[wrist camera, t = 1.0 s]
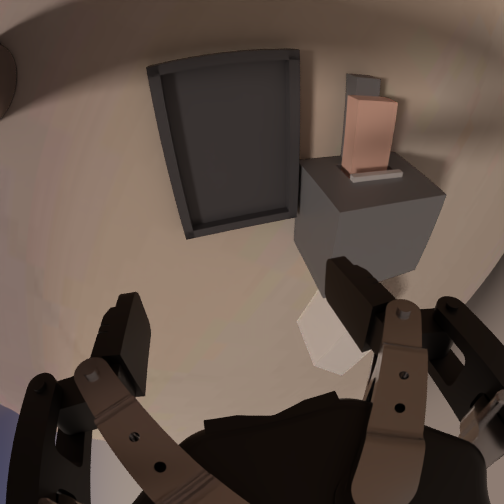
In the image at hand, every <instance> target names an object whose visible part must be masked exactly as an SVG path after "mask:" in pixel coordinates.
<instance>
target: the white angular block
mask: <svg viewBox="0 0 504 504" xmlns="http://www.w3.org/2000/svg"><path fill="white" fill-rule="evenodd" d="M297 324H298V326H299V329H300V331H301V334H302V336H303V339H304V341H305V344H306V346H307V349H308V352H309V354H310V357H311V359H312V362H313V365H314V366H316V367H318V368H321V369H324V370H327V371H330V372H333V373H335V374H338V375H341V376H342V375H343V374H344V373H346V372H347V371H348V370H349V369H350V368H351V367H353V366H354V365H355V364H356V363H357V362H358V361H359V360H361V359H362V358H363V357H364V356H365V355H366V354H367V353H368V352H369V351H370V350H368V351H365V352H363V353H362V352H361V351H360V349H359V348H358V346H357V345H356V343H355V342H354V340H353V339H352V337H351V336H350V334H349V333H348V331H347V330H346V328H345V327H344V325H343V324H342V323H341V321H340V320H339V318H338V317H337V315H336V314H335V312H334V311H333V309H332V308H331V306H330V305H329V304H328V302H327V300H326V298H322V296H321V293H320V291H319V289H318V290H317V292H316V293H315V295H314V296H313V298H312V299H311V301H310V302H309V304H308V305H307V307H306V308H305V310H304V311H303V313H302V314H301V315H300V317H299V318H298V320H297ZM371 350H372V349H371Z"/></svg>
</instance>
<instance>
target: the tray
mask: <svg viewBox="0 0 504 504" xmlns="http://www.w3.org/2000/svg"><path fill="white" fill-rule="evenodd" d="M146 69H147V75H148V80H149V86H150V91H151V96H152V101H153V106H154V111H155V116H156V121H157V126H158V130H159V135H160V139H161V144H162V148H163V152H164V157H165V161H166V165H167V169H168V173H169V177H170V181H171V185H172V189H173V193H174V197H175V201H176V204H177V208H178V212H179V215H180V219H181V223H182V226H183V230H184V233H185V237H186V240H187V239H192V238H196V237H201V236H206V235H210V234H215V233H220V232H225V231H229V230H234V229H239V228H244V227H249V226H254V225H259V224H264V223H269V222H274V221H280V220H285V219H290V218H295V217H297V206H298V182H299V149H300V52H299V50H298V49H258V50H243V51H232V52H222V53H214V54H207V55H200V56H194V57H188V58H183V59H177V60H172V61H168V62H163V63H159V64H155V65H150V66H148V67H146Z"/></svg>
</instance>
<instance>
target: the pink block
mask: <svg viewBox="0 0 504 504" xmlns="http://www.w3.org/2000/svg"><path fill="white" fill-rule="evenodd" d="M397 107H398V102H396V101H393V100H391V99H389V98H387V97H377V96H361V95H348V97H347V112H346V125H345V136H344V146H343V156H342V164H341V171H342V172H343V173H344V174H345V175H346V176H347V177H348V178H349V179H350V174H355V173H365V172H374V171H385V170H387V167H388V162H389V156H390V151H391V146H392V140H393V134H394V128H395V121H396V114H397Z"/></svg>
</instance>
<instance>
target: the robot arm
mask: <svg viewBox="0 0 504 504" xmlns="http://www.w3.org/2000/svg"><path fill="white" fill-rule="evenodd" d="M15 86H16V66H15V61H14V59H13V57H12V54H11V53H10V52H9V51H8V49H7V48H5V47H4V46H2V45H1V44H0V119H1V117H2V116H3V115H4V114H5V112H6V111H7V109H8V107H9V106H10V103H11V101H12V98H13V95H14V91H15ZM325 296H326V300H327V302H328V304H329V305H330V306H331V308H332V309H333V311H334V312H335V314H336V315H337V317H338V318H339V320H340V321H341V323H342V324H343V325H344V327H345V328H346V330H347V331H348V333H349V334H350V336H351V337H352V339H353V340H354V342H355V343H356V345H357V346H358V348H359V349H360V351H361V352H362V353H363V352H365V351H368V350H371V349H372V351H373V352H374V354H373V358H372V362H371V367H370V372H369V377H368V381H367V386H366V390H365V394H364V397H363V400H359V399H350V398H342V399H339V398H338V396H337V394H336V392H335V391H332V392H329V393H326V394H323V395H320V396H316V397H313V398H309V399H306V400H303V401H301V402H300V403H298V404H296V405H294V406H292V407H290V408H288V409H286V410H284V411H282V412H280V413H278V414H276V415H272V416H245V415H235V416H230V417H223V418H217V419H210V420H204V428H205V429H204V430H201V431H199V432H197V433H195V434H193V435H191V436H189V437H188V438H186V439H185V440H184V441H182V442H181V443H180V444H179V445H178V444H177V443H176V442H175V441H174V440H173V439H172V438H171V437H170V436H169V435H168V434H167V433H166V432H165V431H164V430H163V429H162V428H161V427H160V426H159V425H158V423H157V422H156V421H155V420H154V419H153V418H152V417H151V416H150V415H149V413H148V412H147V411H146V410H145V409H144V408H143V407H142V405H141V404H140V403H139V402H138V401H137V399H136V397H140V396H145V391H146V378H147V366H148V356H149V347H150V338H151V329H150V323H149V320H148V318H147V315H146V312H145V310H144V307H143V304H142V301H141V299H140V296H139V294H138V293H137V292H132V293H126V294H120V295H119V297H118V300H117V303H116V307H112V308H110V309H109V310H108V311H107V313H106V314H105V315H104V316H103V319H102V322H101V327H100V328H99V331H98V333H99V334H97V337H96V341H95V344H94V347H93V350H92V354H91V357H90V358H89V359H86V360H85V361H83V362H82V363H80V364H79V366H78V367H77V368H76V370H75V373H74V376H73V377H70V378H67V379H63V380H60V381H57V380H56V379H55V378H54V377H53V375H51V374H49V373H41V374H39V375H37V376H35V377H34V378H33V379H32V380H31V381H30V383H29V385H28V387H27V390H26V394H25V397H24V400H23V404H22V407H21V411H20V415H19V419H18V423H17V427H16V432H15V436H14V441H13V447H12V452H11V459H10V465H9V473H8V481H7V493H6V504H91V500H90V499H91V498H90V464H91V442H92V430H94V429H99V431H100V433H101V434H102V436H103V437H104V439H105V440H106V442H107V443H108V445H109V446H110V448H111V449H112V451H113V452H114V453H115V455H116V456H117V458H118V459H119V460H120V462H121V463H122V464H123V466H124V467H125V468H126V470H127V471H128V472H129V474H130V475H131V476H132V477H133V479H134V480H135V481H136V482H137V484H138V485H139V486H140V487H141V488H142V489H143V491H142V492H141V493H140V495H139V496H138V497H137V499H136V500H135V501H134V502H133V503H132V504H490V501H489V496H488V490H487V470H486V469H487V468H488V467H489V466H490V465H492V464H493V463H494V462H495V461H497V460H498V459H500V457H502V456H503V455H504V345H503V344H502V343H501V342H500V341H499V340H498V339H497V337H496V336H495V335H494V334H493V333H492V332H491V331H490V330H489V329H488V328H487V327H486V326H485V325H484V324H483V323H482V321H480V319H479V318H478V317H477V316H476V315H475V314H474V313H473V312H472V311H471V310H470V309H469V308H468V307H467V306H466V305H465V304H464V303H463V302H461V301H460V300H459V299H457V298H454V297H450V296H444V297H441V298H440V299H438V301H437V304H436V306H435V308H432V309H419V307H418V306H417V305H416V304H415V303H413V302H411V301H408V300H405V299H396V298H395V297H394V296H393V295H392V294H391V293H390V292H389V291H388V290H387V289H386V288H385V287H384V286H383V285H382V284H381V283H379V282H378V280H377V279H376V278H375V277H373V275H372V274H371V273H370V272H369V271H367V270H366V269H364V268H362V267H360V266H358V265H353V264H352V263H351V262H350V261H349V260H348V259H347V258H346V257H345V256H341V257H336V258H330V259H328V260H327V262H326V274H325ZM453 342H454V343H455V344H456V346H457V347H458V348H459V349H460V350H461V352H462V353H463V354H464V356H465V366H464V365H463V364H462V363H461V362H460V360H459V359H458V358H457V356H456V355H455V354H454V353H453V351H452V350H451V349H450V348H451V346H452V344H453ZM428 373H429V375H430V376H431V377H432V379H433V380H434V382H435V383H436V385H437V386H438V388H439V390H440V391H441V392H442V394H443V396H444V397H445V399H446V400H447V402H448V403H449V405H450V406H451V408H452V410H453V411H454V413H455V414H456V416H457V418H458V419H459V421H460V434H459V437H456V436H453V435H450V434H447V433H444V432H441V431H439V430H436V429H433V428H431V427H428V426H425V425H424V422H425V412H426V399H427V379H428ZM57 427H58V433H57V440H56V446H55V435H56V429H57Z"/></svg>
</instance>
